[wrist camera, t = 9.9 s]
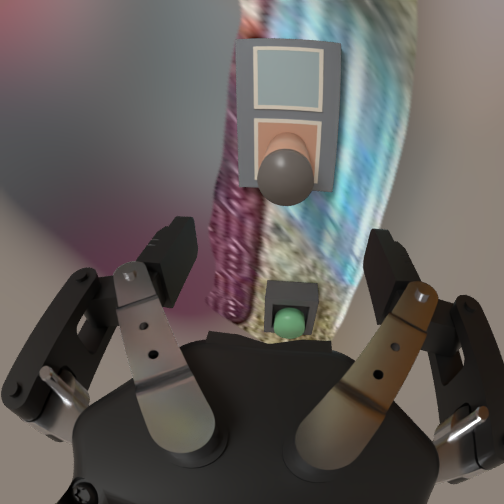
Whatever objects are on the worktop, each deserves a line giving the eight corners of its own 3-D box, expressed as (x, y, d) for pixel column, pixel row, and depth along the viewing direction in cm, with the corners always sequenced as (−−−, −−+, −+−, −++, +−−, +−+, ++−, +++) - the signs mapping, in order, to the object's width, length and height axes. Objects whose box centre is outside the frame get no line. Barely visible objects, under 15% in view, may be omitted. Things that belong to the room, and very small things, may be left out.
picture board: (237, 40, 21) (235, 39, 20) (339, 44, 20) (341, 43, 19) (240, 183, 30) (238, 187, 29) (331, 188, 29) (332, 192, 28)
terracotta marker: (259, 144, 26) (245, 171, 19) (293, 125, 24) (295, 142, 17) (281, 176, 28) (276, 214, 20) (314, 158, 26) (323, 190, 19)
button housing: (267, 280, 37) (265, 298, 34) (317, 283, 36) (318, 301, 34) (266, 314, 41) (263, 331, 38) (310, 317, 40) (311, 335, 37)
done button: (275, 306, 35) (274, 317, 33) (306, 308, 34) (306, 320, 33) (274, 326, 37) (273, 337, 36) (302, 328, 37) (302, 339, 35)
